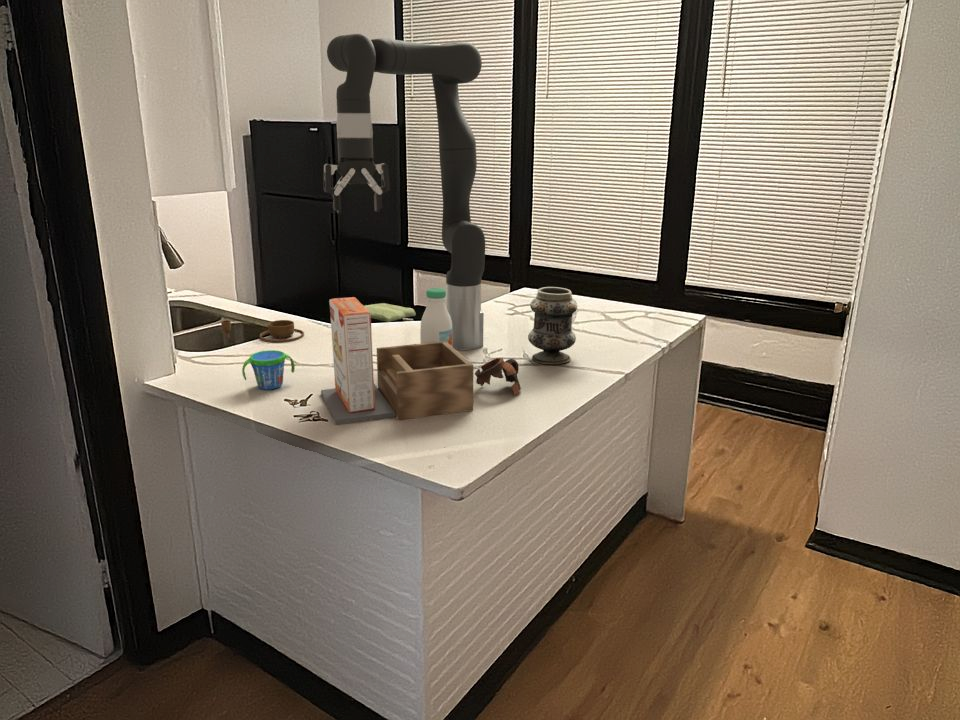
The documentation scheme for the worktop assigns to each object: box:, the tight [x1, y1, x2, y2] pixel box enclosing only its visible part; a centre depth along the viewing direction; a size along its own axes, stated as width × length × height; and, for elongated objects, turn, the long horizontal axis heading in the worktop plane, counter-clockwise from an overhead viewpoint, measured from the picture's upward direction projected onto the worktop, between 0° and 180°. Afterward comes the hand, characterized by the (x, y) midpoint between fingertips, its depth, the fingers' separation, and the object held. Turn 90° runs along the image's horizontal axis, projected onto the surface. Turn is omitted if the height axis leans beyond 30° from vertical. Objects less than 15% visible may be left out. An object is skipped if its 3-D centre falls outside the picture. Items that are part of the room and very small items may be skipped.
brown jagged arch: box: [474, 357, 522, 396], centre depth 162 cm, size 12×9×8 cm
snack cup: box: [241, 349, 296, 391], centre depth 162 cm, size 11×8×7 cm
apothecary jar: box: [527, 286, 578, 366], centre depth 181 cm, size 12×12×18 cm
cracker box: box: [328, 296, 375, 413], centre depth 149 cm, size 14×6×21 cm, turn 22°
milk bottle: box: [419, 287, 453, 347], centre depth 172 cm, size 8×8×20 cm
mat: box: [320, 383, 396, 425], centre depth 152 cm, size 12×18×1 cm, turn 21°
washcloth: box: [363, 302, 417, 323], centre depth 223 cm, size 13×18×3 cm
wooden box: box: [376, 341, 474, 421], centre depth 154 cm, size 16×18×10 cm
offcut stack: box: [386, 355, 413, 387], centre depth 153 cm, size 4×12×9 cm, turn 21°
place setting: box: [220, 319, 305, 344], centre depth 200 cm, size 18×20×6 cm
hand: (358, 212), depth 160 cm, fingers open, 8 cm apart
